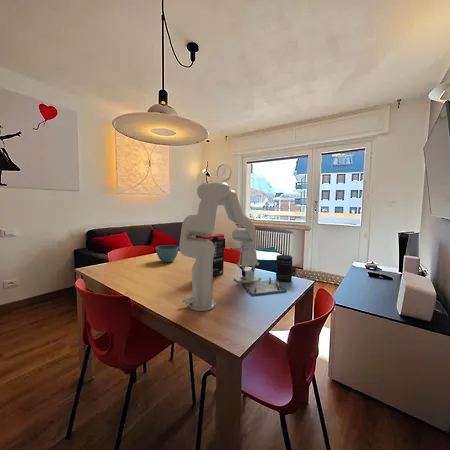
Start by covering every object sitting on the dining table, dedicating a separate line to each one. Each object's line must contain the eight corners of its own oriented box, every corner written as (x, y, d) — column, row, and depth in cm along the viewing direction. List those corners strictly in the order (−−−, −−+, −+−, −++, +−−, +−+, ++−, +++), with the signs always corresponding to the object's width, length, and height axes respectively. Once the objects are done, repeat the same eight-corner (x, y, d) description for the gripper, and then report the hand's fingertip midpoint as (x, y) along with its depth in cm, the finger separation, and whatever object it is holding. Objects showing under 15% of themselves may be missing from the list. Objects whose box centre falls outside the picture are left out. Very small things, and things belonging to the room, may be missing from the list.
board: (240, 284, 135) (240, 274, 135) (232, 278, 146) (232, 268, 146) (263, 281, 141) (264, 271, 140) (254, 275, 152) (254, 266, 151)
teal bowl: (151, 263, 180) (151, 248, 178) (161, 258, 197) (161, 244, 196) (173, 265, 177) (173, 249, 175) (181, 259, 194) (181, 245, 193)
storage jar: (291, 278, 147) (292, 255, 146) (291, 283, 138) (292, 259, 136) (276, 276, 150) (276, 254, 149) (275, 281, 141) (275, 257, 139)
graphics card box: (217, 271, 160) (217, 233, 157) (224, 274, 155) (224, 234, 152) (198, 277, 148) (198, 235, 145) (205, 279, 143) (205, 236, 140)
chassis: (252, 295, 119) (252, 288, 118) (241, 285, 134) (241, 278, 134) (286, 291, 124) (286, 284, 124) (272, 282, 140) (272, 275, 139)
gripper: (237, 249, 136) (237, 279, 138) (263, 247, 140) (262, 276, 142) (233, 247, 143) (233, 275, 145) (258, 245, 148) (257, 272, 149)
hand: (247, 275), depth 143 cm, fingers closed on board, 5 cm apart
